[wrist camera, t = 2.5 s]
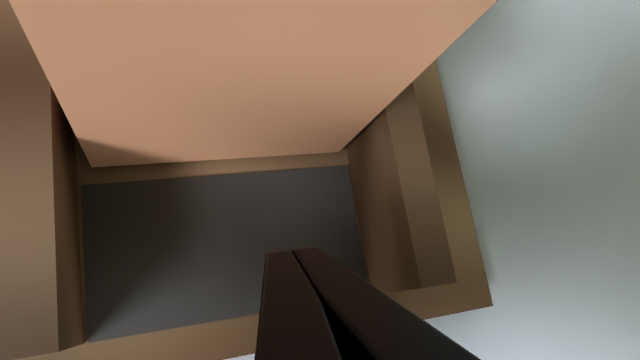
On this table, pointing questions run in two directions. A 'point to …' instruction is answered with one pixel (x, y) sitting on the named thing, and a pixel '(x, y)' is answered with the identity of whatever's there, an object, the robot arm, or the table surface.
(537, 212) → the table surface
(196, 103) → the slider block
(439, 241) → the tray
